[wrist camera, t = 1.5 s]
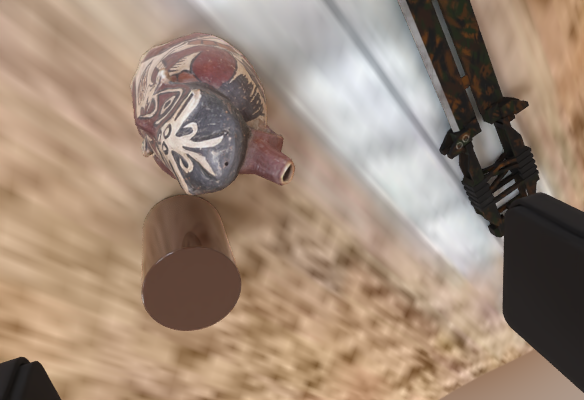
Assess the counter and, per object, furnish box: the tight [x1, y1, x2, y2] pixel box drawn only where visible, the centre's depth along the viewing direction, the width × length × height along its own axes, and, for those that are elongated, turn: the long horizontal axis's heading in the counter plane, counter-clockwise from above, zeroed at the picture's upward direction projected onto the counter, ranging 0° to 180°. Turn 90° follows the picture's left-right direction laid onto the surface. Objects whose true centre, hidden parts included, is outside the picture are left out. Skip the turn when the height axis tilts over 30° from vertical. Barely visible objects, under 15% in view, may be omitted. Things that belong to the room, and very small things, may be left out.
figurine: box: [130, 33, 295, 195], centre depth 22 cm, size 7×7×12 cm
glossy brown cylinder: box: [141, 195, 241, 331], centre depth 27 cm, size 5×5×7 cm
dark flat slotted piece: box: [398, 0, 539, 237], centre depth 31 cm, size 25×6×1 cm, turn 26°
